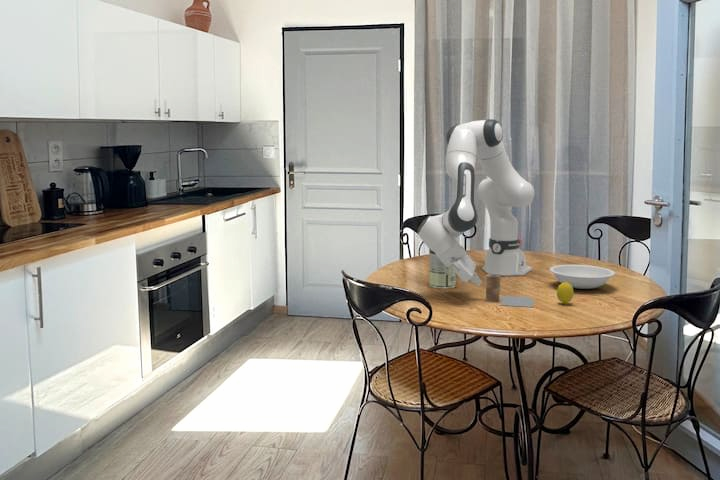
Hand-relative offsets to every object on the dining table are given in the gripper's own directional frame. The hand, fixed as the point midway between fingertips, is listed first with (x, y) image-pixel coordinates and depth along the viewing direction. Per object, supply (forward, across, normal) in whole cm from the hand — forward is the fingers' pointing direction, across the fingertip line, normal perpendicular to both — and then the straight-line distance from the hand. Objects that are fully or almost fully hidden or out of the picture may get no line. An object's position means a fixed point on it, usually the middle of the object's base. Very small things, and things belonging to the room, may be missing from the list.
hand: (480, 284), depth 266 cm
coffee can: (-7, +18, +15) cm, 25 cm away
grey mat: (+13, 0, -5) cm, 14 cm away
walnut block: (+7, 0, +1) cm, 7 cm away
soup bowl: (+30, +29, -22) cm, 47 cm away
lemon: (+25, 0, -16) cm, 30 cm away
